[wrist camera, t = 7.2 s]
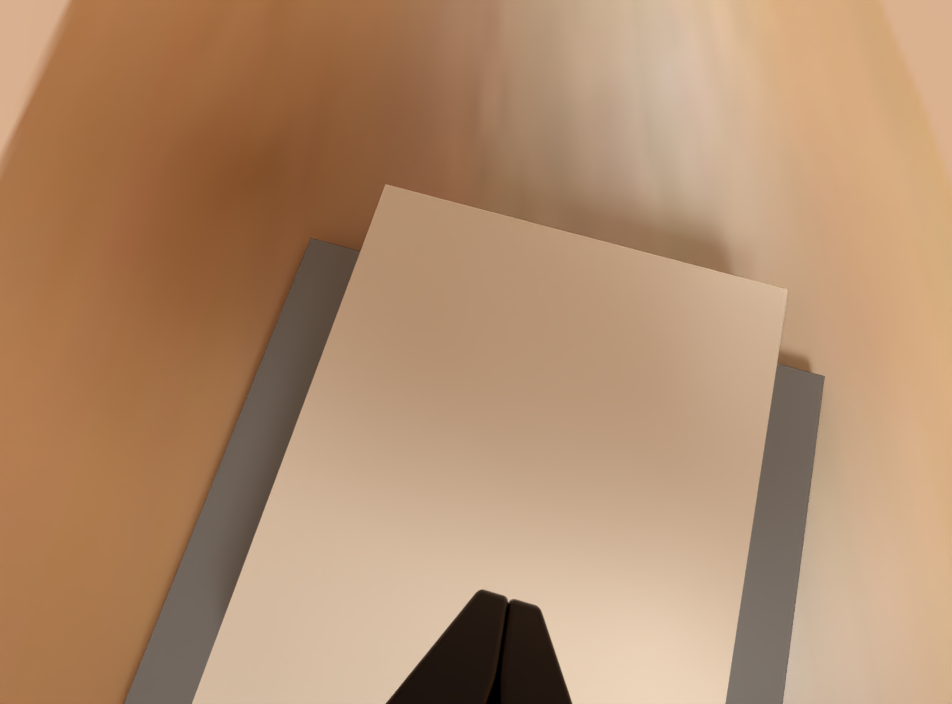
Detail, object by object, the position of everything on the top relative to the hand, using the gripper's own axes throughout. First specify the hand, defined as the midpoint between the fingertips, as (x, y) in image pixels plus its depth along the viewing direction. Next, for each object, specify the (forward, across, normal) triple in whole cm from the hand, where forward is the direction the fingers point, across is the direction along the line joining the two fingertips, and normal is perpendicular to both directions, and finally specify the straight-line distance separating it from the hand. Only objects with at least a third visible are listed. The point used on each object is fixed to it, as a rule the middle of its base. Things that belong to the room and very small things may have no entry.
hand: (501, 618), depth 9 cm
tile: (+2, 0, +7) cm, 7 cm away
